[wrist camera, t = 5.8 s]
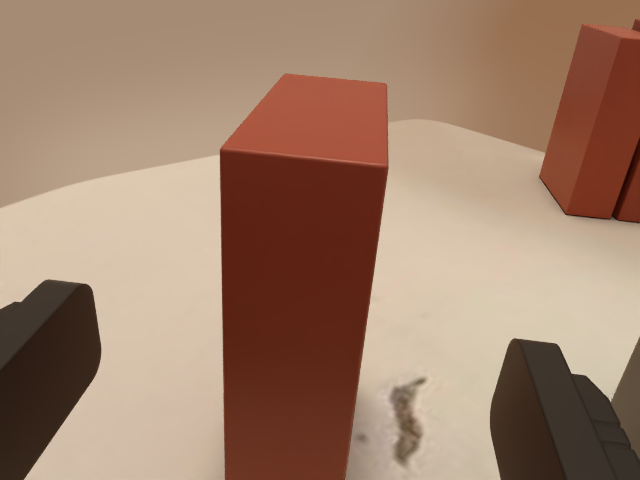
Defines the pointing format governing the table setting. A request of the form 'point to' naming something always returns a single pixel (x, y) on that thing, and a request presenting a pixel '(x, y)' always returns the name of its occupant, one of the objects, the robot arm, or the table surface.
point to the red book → (299, 273)
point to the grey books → (630, 400)
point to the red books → (598, 127)
